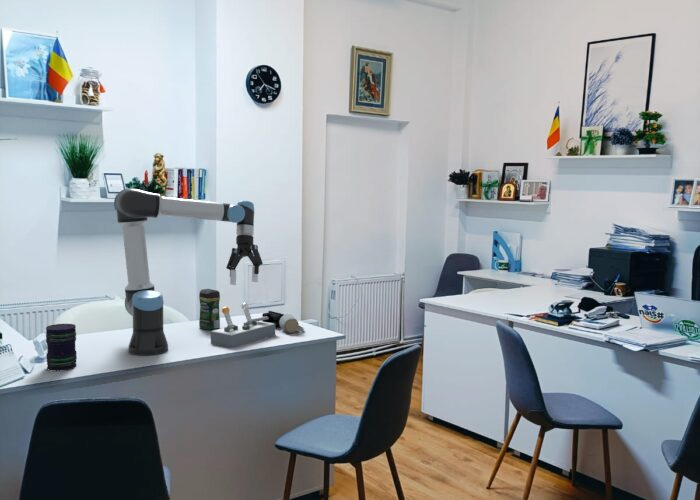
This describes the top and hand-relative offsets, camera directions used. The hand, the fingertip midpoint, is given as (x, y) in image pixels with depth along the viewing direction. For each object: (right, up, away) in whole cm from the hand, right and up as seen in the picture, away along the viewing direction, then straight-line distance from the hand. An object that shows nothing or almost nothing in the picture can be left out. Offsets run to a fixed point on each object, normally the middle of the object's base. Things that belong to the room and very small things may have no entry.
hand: (243, 283), depth 271 cm
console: (0, -24, 0) cm, 24 cm away
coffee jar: (-19, -22, +20) cm, 35 cm away
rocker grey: (+6, -17, +8) cm, 20 cm away
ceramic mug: (+20, -24, +16) cm, 35 cm away
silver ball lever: (+2, -18, +3) cm, 18 cm away
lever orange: (-4, -18, -7) cm, 20 cm away
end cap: (+10, -22, +27) cm, 37 cm away
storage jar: (-58, -28, -47) cm, 80 cm away
